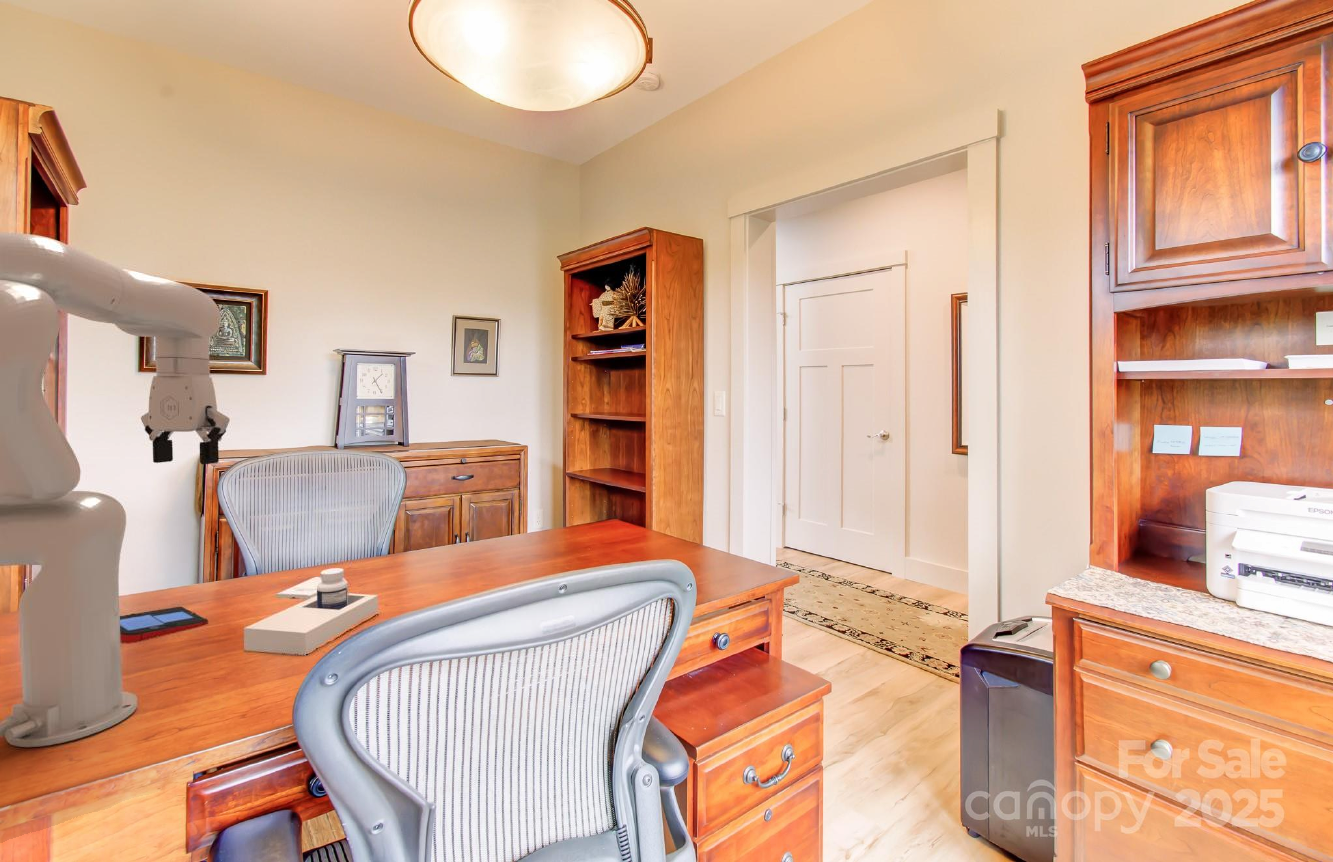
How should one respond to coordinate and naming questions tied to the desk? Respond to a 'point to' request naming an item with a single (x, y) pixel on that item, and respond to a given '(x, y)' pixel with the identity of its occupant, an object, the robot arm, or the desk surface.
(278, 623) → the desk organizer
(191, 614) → the game console
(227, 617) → the desk surface
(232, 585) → the desk surface
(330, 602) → the pill bottle
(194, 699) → the desk surface
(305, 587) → the external hard drive
